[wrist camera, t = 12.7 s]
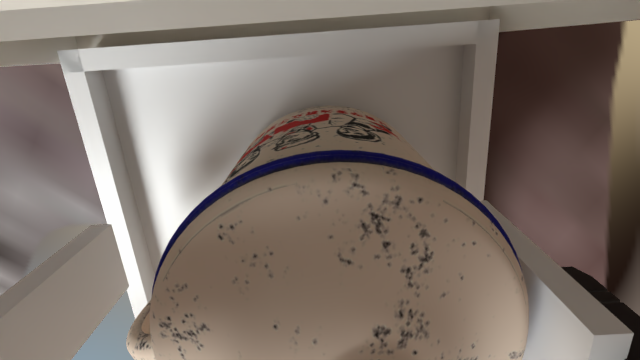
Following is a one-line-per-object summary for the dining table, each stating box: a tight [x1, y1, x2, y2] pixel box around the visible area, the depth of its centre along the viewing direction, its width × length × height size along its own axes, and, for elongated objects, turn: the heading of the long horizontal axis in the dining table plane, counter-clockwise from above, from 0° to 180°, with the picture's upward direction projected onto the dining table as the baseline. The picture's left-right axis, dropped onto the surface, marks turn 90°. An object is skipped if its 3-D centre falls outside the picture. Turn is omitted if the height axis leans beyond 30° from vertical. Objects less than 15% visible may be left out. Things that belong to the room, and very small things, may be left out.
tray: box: [57, 19, 500, 319], centre depth 17 cm, size 19×24×7 cm
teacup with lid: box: [126, 105, 529, 360], centre depth 12 cm, size 12×9×12 cm
